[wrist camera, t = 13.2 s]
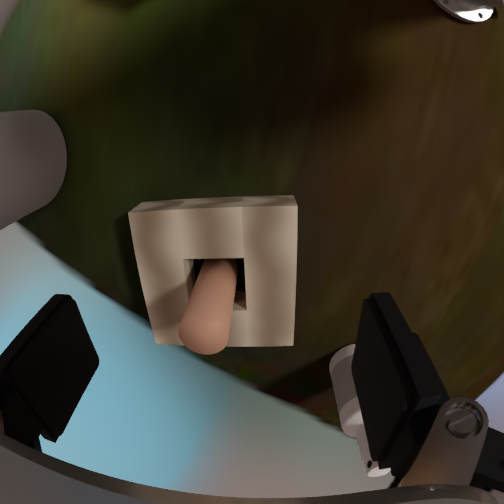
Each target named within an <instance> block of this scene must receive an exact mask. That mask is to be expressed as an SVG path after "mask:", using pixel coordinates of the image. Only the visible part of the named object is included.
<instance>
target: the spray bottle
mask: <svg viewBox="0 0 504 504" xmlns="http://www.w3.org/2000/svg"><path fill="white" fill-rule="evenodd" d="M354 349H355V344H351V345H348V346H346V347H343V348H341V349H340V350H339V351H337V352H336V353H335V354H334V355H333V356H332V358H331V361H330V363H329V370H330V374H331V379H332V383H333V388H334V393H335V397H336V402H337V407H338V411H339V416H340V421H341V426H342V429H343V431H344V433H345V434H347V435H349V436H351V437H356V438H357V443H358V445H359V448H360V453H361V457H362V460H363V461H364V463H365V465H366V470H367V475H368V476H370V477H378V476H382V475H385V474H387V473H388V472H389V471H390V470H391V469H390V468H386V469H381V470H379V467H378V462H377V461H376V462H373V461H372V459H371V456H370V451H369V446H368V441H367V437H366V432H365V427H364V423H363V419H362V414H361V410H360V406H359V401H358V397H357V393H356V389H355V385H354V381H353V377H352V372H351V364H352V359H353V354H354Z"/></svg>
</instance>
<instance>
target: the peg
mask: <svg viewBox="0 0 504 504" xmlns="http://www.w3.org/2000/svg"><path fill="white" fill-rule="evenodd" d="M237 276H238V263H237V261H236V260H235V258H215V259H205V260H204V262H203V265H202V267H201V270H200V273H199V275H198V278H197V280H196V283H195V286H194V288H193V291H192V294H191V296H190V299H189V302H188V304H187V307H186V310H185V312H184V315H183V318H182V320H181V323H180V326H179V330H178V334H179V338H180V340H181V342H182V343H183V344H184V345H185V346H186V347H187V348H188V349H190V350H192V351H194V352H196V353H199V354H214V353H217V352H219V351H221V350H222V349H224V348H225V346H226V345H227V342H228V337H229V331H230V324H231V317H232V310H233V303H234V296H235V289H236V282H237Z"/></svg>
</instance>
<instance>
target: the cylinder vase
mask: <svg viewBox="0 0 504 504" xmlns="http://www.w3.org/2000/svg"><path fill="white" fill-rule="evenodd" d="M66 167H67V150H66V144H65V140H64V137H63V134H62V131H61V129H60V127H59V126H58V124H57V123H56V121H55V120H54V119H53V118H52V117H51V116H49V115H48V114H47V113H45V112H42V111H39V110H22V111H10V112H0V230H1V229H3V228H5V227H6V226H8V225H10V224H12V223H13V222H15V221H17V220H19V219H21V218H22V217H24V216H26V215H28V214H30V213H32V212H34V211H36V210H37V209H39V208H41V207H43V206H45V205H47V204H48V203H49V202H51V201H52V200H53V198H54V197H55V196H56V195H57V193H58V192H59V190H60V188H61V186H62V183H63V180H64V177H65V173H66Z"/></svg>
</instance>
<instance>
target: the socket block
mask: <svg viewBox="0 0 504 504" xmlns="http://www.w3.org/2000/svg"><path fill="white" fill-rule="evenodd" d="M128 215H129V222H130V228H131V234H132V239H133V245H134V250H135V256H136V261H137V266H138V271H139V275H140V280H141V285H142V289H143V294H144V298H145V302H146V306H147V311H148V315H149V319H150V323H151V326H152V330H153V334H154V338H155V341H156V344H168V345H184V344H183V343H182V342H181V340H180V338H179V334H178V330H179V326H180V323H181V320H182V318H183V315H184V312H185V310H186V307H187V304H188V302H189V299H190V296H191V294H192V291H193V288H194V286H195V283H196V279H195V271H194V263H193V259H215V258H244V267H245V287H246V291H235V296H234V303H233V310H232V317H231V324H230V331H229V337H228V342H227V345H226V346H239V347H246V346H293V338H294V318H295V295H296V265H297V215H298V206H297V203H296V201H295V198H294V196H246V197H218V198H197V199H179V200H163V201H148V202H142V203H140V204H139V205H138V206H136V207H135V208H133V209H132V210H131V211H129V212H128Z"/></svg>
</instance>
